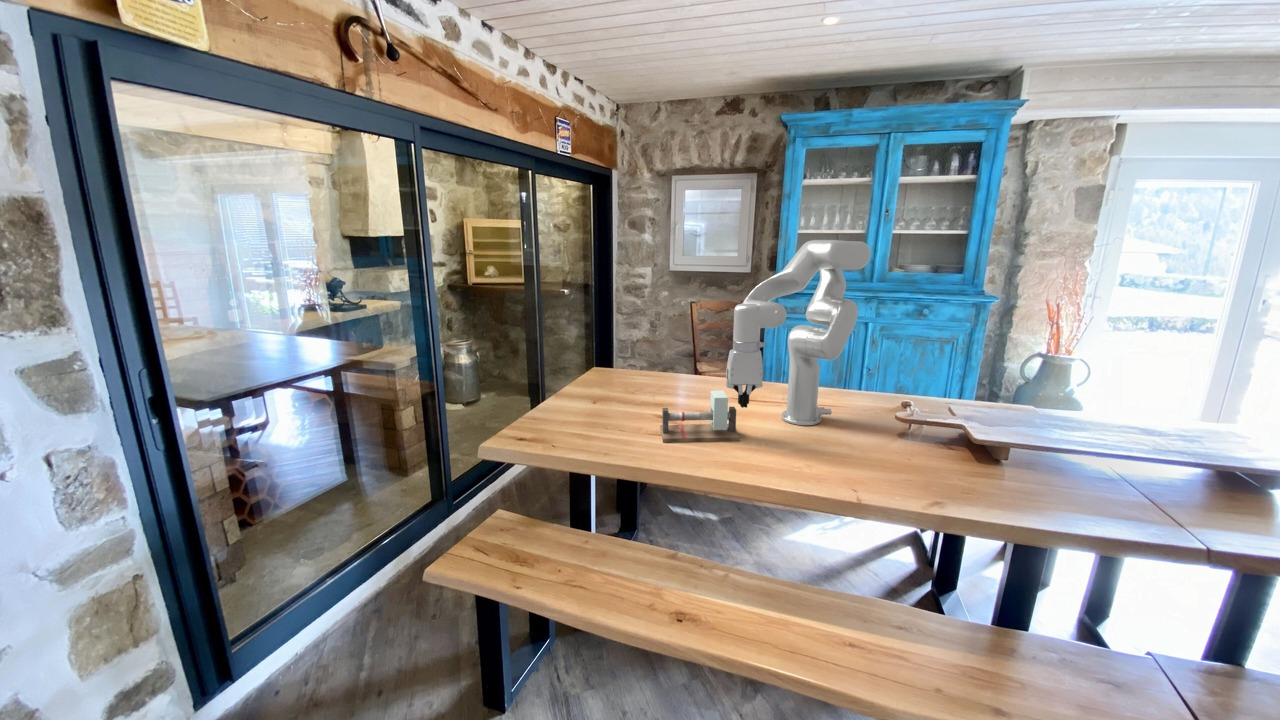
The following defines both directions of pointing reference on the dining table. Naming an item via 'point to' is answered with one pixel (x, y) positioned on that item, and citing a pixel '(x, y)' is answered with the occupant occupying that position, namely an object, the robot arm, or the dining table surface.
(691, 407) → the dining table surface
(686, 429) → the rod stand
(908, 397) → the dining table surface
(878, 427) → the dining table surface
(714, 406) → the sleeve block
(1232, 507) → the dining table surface
